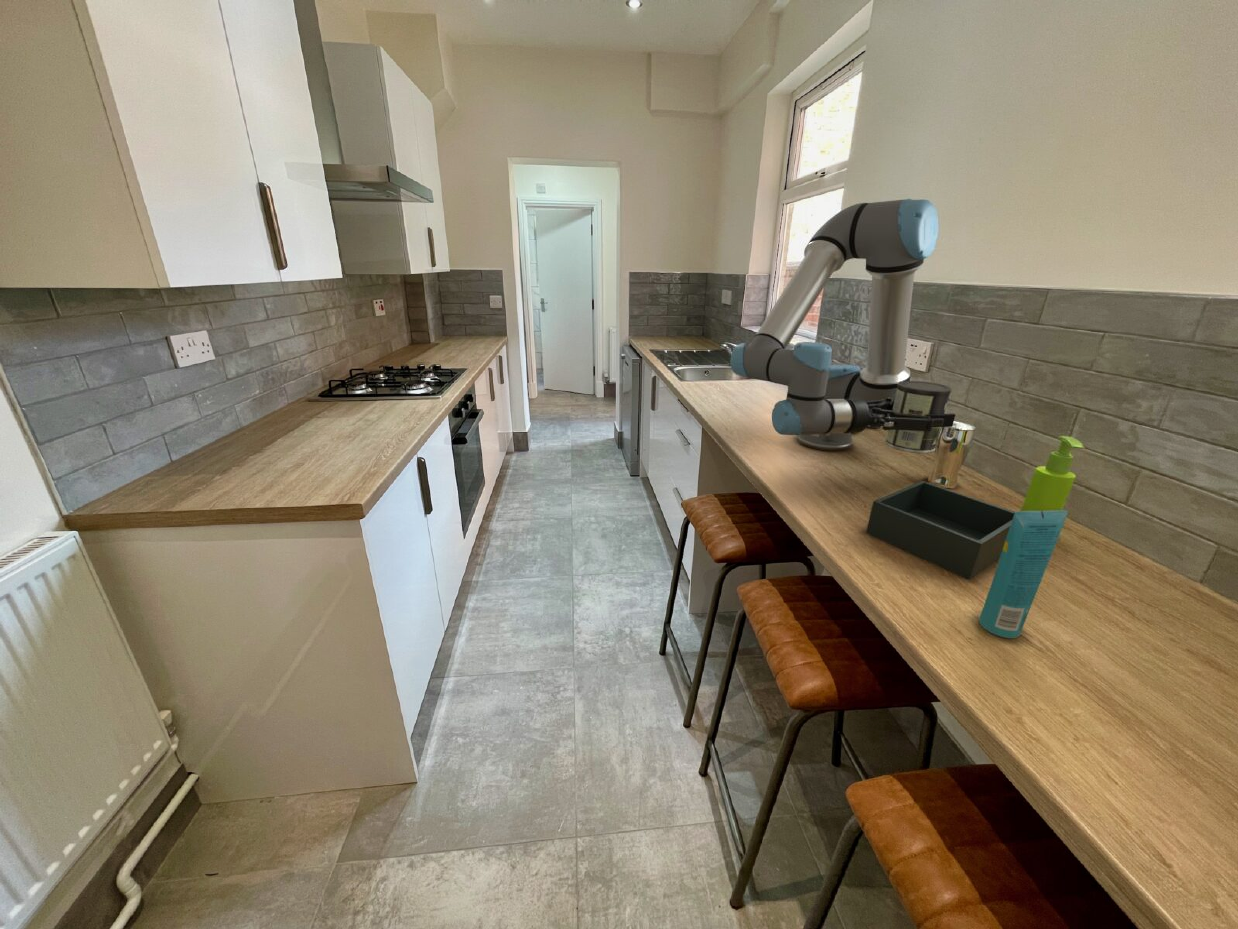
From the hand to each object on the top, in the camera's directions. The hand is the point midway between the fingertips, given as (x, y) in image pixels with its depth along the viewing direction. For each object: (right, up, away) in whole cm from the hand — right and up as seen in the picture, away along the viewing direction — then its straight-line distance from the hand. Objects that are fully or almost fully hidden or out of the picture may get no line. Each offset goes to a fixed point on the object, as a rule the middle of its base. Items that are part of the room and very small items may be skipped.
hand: (934, 413), depth 110 cm
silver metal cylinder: (+8, -16, +10) cm, 21 cm away
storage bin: (-9, -26, -15) cm, 32 cm away
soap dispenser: (+12, -25, -12) cm, 31 cm away
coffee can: (-4, -7, +2) cm, 9 cm away
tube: (-16, -36, -38) cm, 55 cm away
